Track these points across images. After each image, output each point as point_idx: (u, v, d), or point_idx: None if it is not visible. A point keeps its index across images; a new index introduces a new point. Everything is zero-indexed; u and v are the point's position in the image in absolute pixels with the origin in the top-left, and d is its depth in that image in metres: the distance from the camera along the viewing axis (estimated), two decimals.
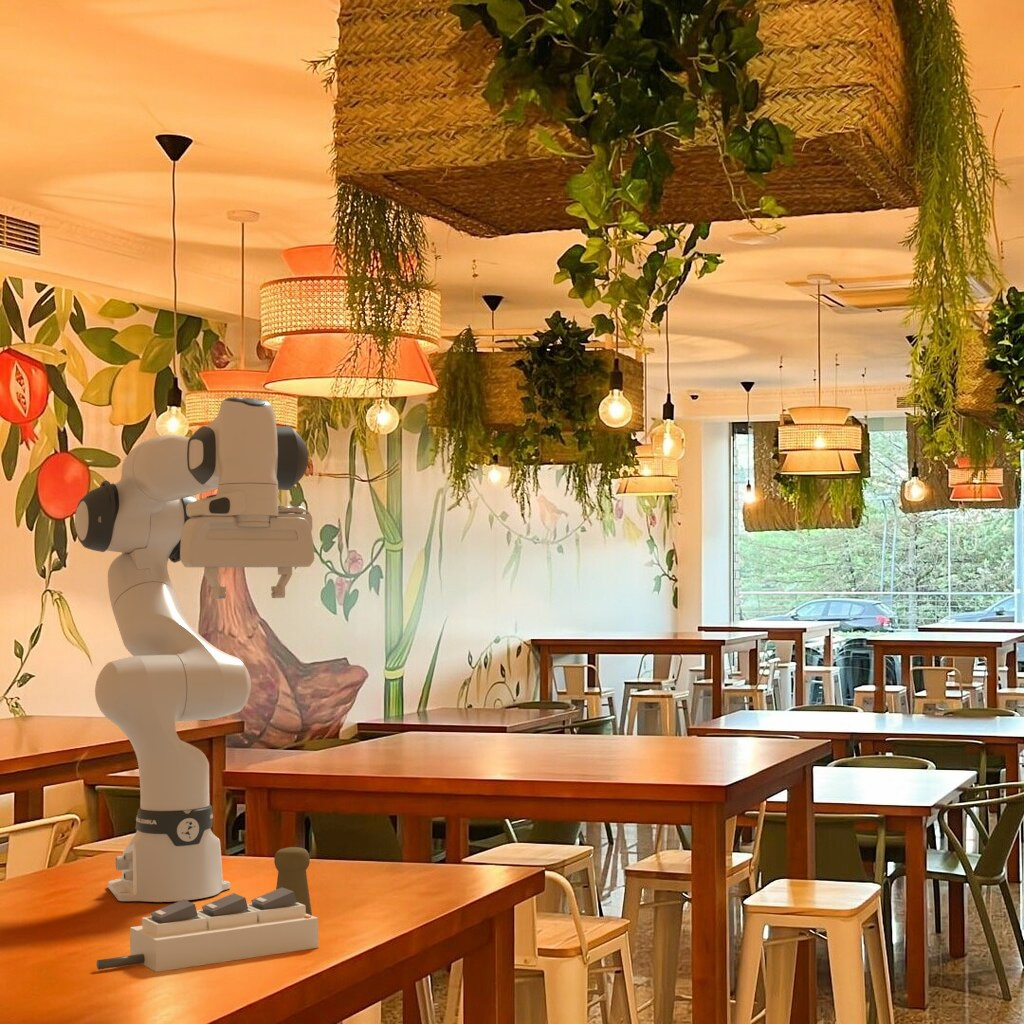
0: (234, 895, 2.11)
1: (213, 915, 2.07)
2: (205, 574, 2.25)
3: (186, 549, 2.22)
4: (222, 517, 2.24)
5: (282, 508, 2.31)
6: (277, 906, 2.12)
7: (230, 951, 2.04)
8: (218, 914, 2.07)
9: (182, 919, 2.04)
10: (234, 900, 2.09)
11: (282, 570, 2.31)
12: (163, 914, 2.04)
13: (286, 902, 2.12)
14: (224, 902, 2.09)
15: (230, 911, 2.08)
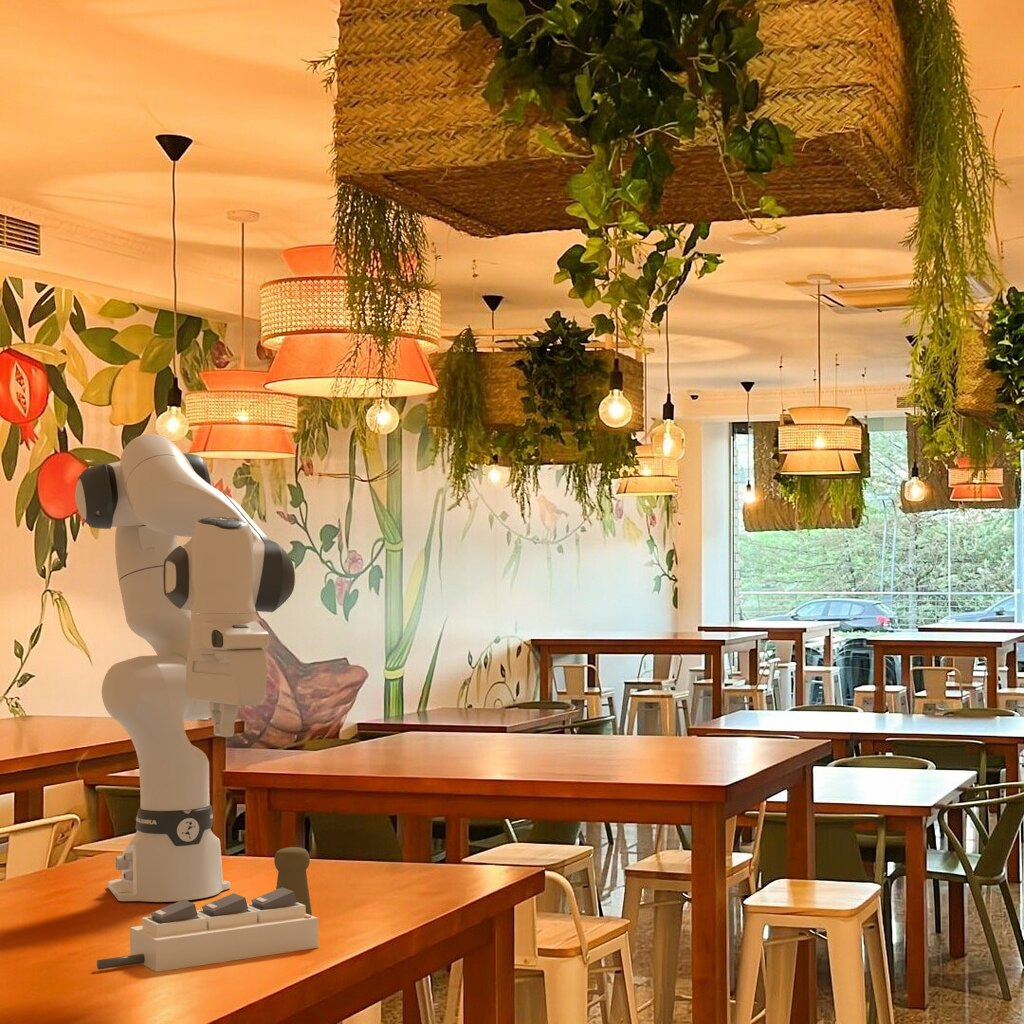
0: (234, 895, 2.11)
1: (213, 915, 2.07)
2: (226, 711, 2.09)
3: (257, 686, 2.03)
4: None
5: None
6: (277, 906, 2.12)
7: (230, 951, 2.04)
8: (218, 914, 2.07)
9: (182, 919, 2.04)
10: (234, 900, 2.09)
11: None
12: (163, 914, 2.04)
13: (286, 902, 2.12)
14: (224, 902, 2.09)
15: (230, 911, 2.08)
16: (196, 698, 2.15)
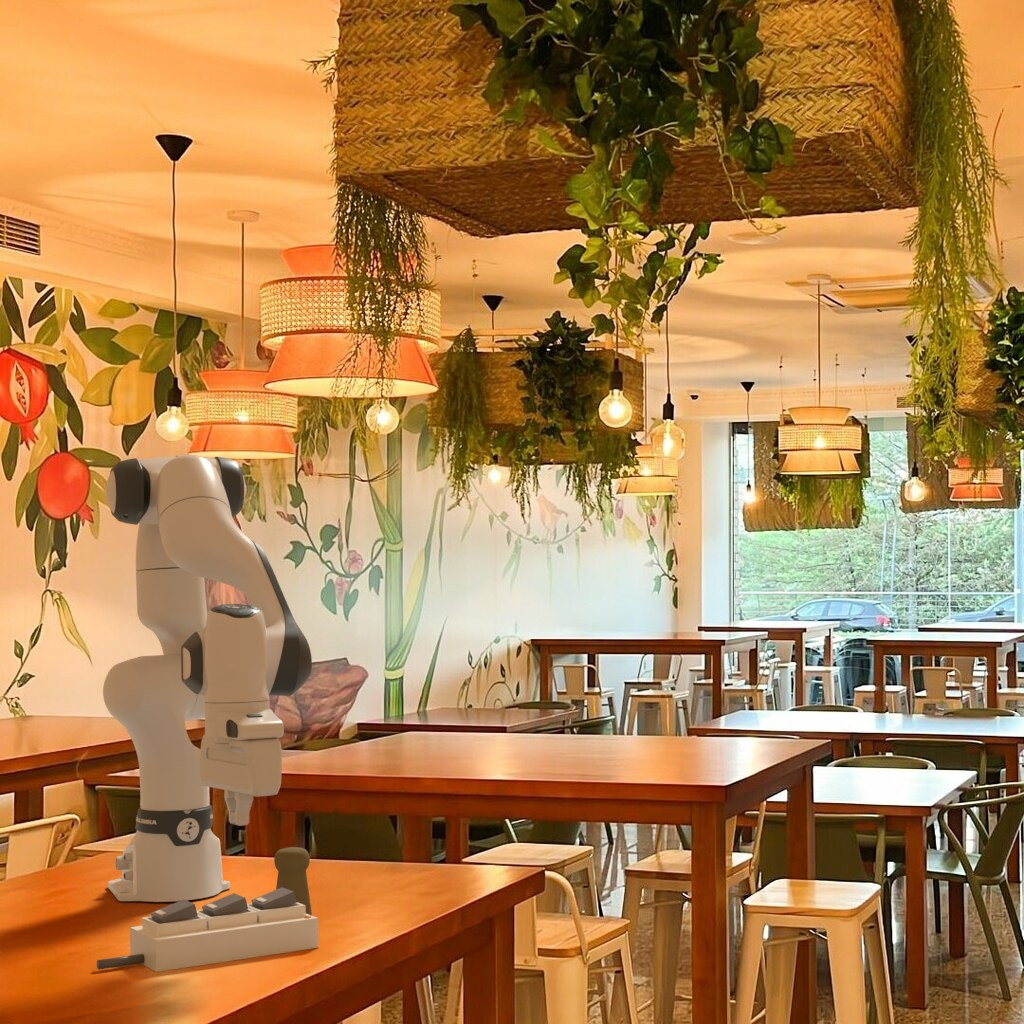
0: (234, 895, 2.11)
1: (213, 915, 2.07)
2: (241, 799, 2.09)
3: (273, 776, 2.04)
4: None
5: None
6: (277, 906, 2.12)
7: (230, 951, 2.04)
8: (218, 914, 2.07)
9: (182, 919, 2.04)
10: (234, 900, 2.09)
11: None
12: (163, 914, 2.04)
13: (286, 902, 2.12)
14: (224, 902, 2.09)
15: (230, 911, 2.08)
16: (210, 785, 2.15)
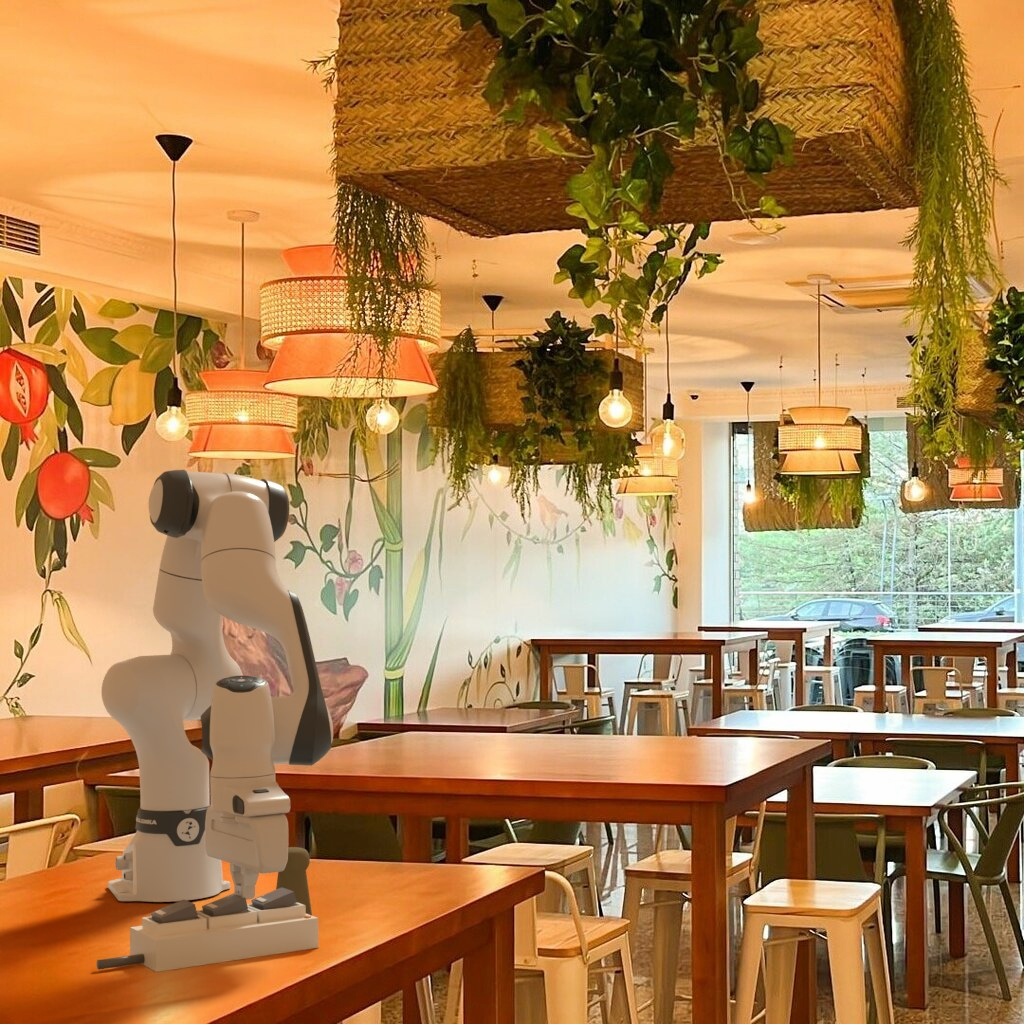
0: (234, 895, 2.11)
1: (213, 915, 2.07)
2: (247, 874, 2.09)
3: (279, 853, 2.03)
4: None
5: None
6: (277, 906, 2.12)
7: (230, 951, 2.04)
8: (218, 914, 2.07)
9: (182, 919, 2.04)
10: (234, 900, 2.09)
11: None
12: (163, 914, 2.04)
13: (286, 902, 2.12)
14: (224, 902, 2.09)
15: (230, 911, 2.08)
16: (216, 857, 2.15)
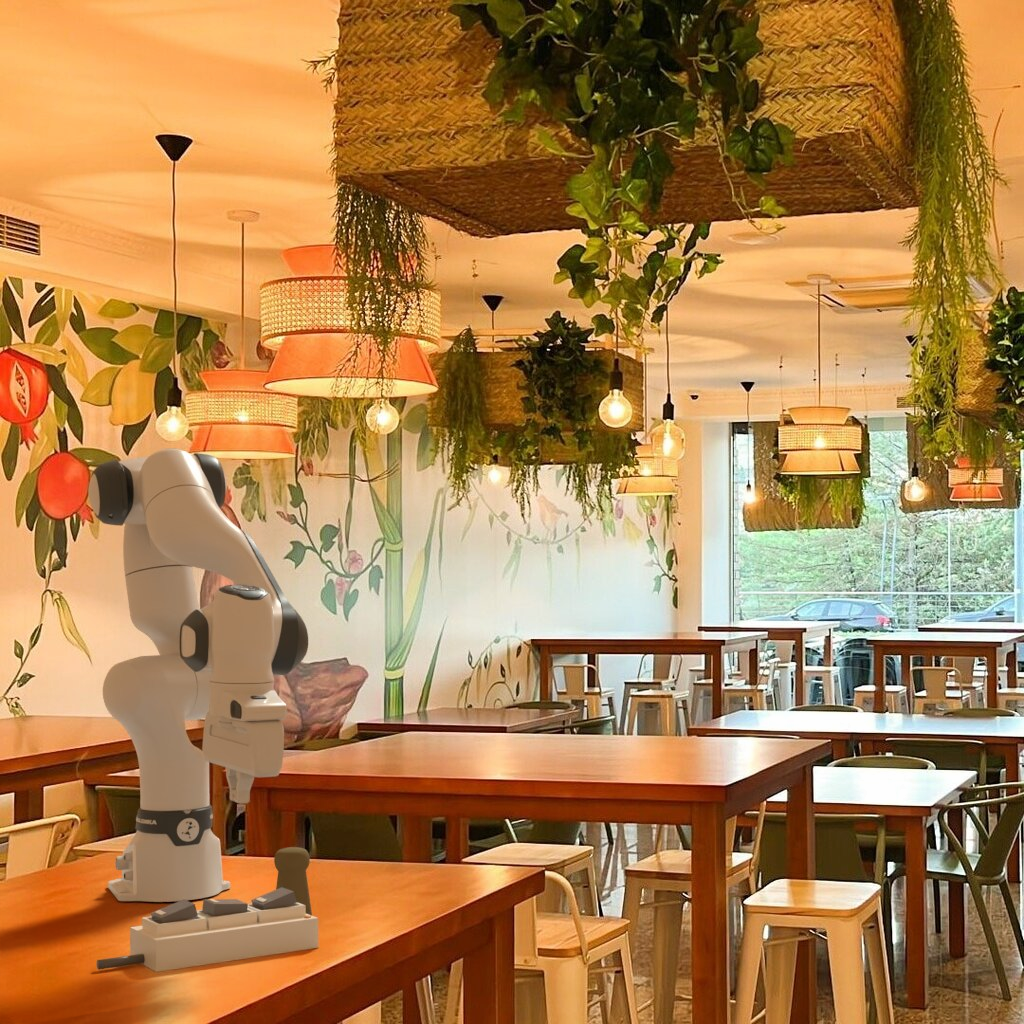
0: (236, 900, 2.11)
1: (213, 908, 2.07)
2: (243, 778, 2.12)
3: (274, 758, 2.07)
4: None
5: None
6: (277, 906, 2.12)
7: (230, 951, 2.04)
8: (218, 909, 2.07)
9: (182, 919, 2.04)
10: (236, 903, 2.09)
11: None
12: (163, 914, 2.04)
13: (286, 902, 2.12)
14: (226, 902, 2.09)
15: (230, 911, 2.08)
16: (213, 761, 2.18)
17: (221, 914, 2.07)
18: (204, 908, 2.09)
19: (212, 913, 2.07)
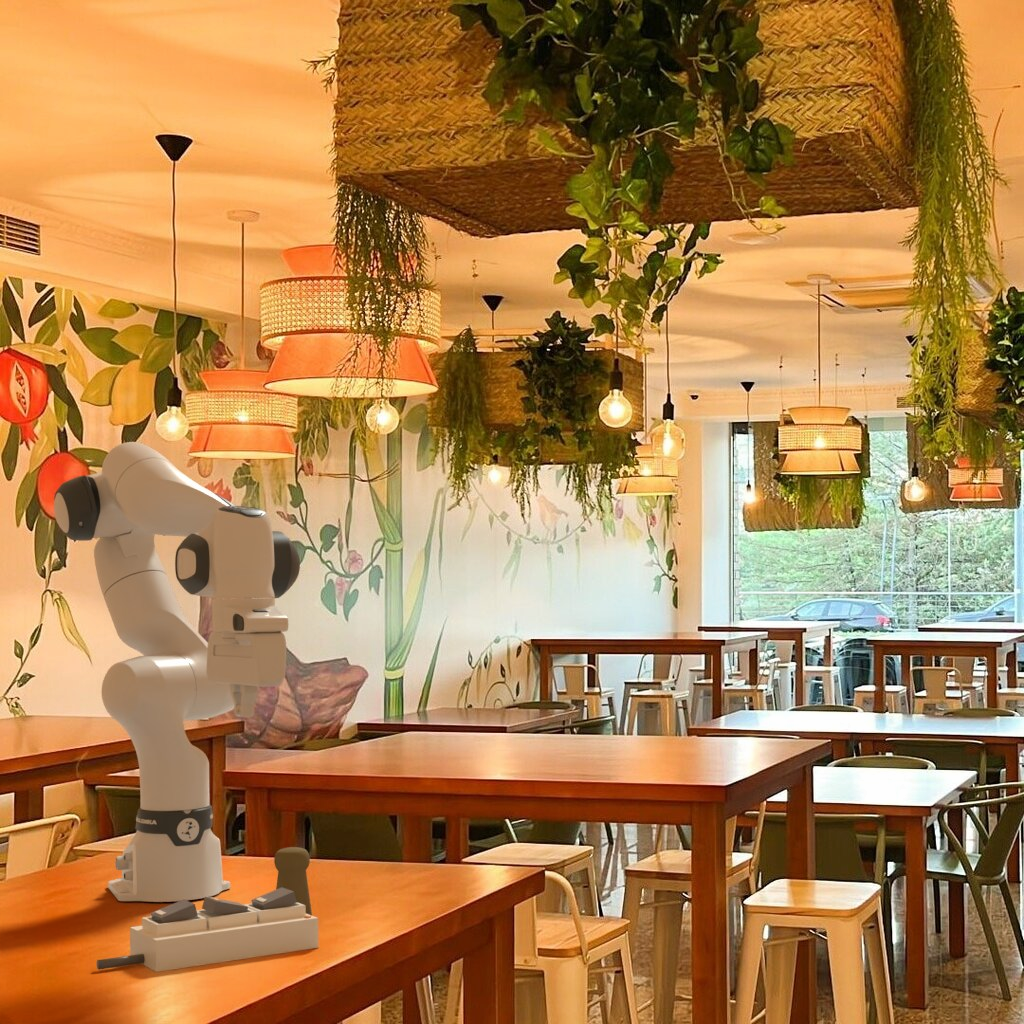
0: (237, 903, 2.11)
1: (213, 905, 2.07)
2: (247, 692, 2.17)
3: (277, 667, 2.11)
4: None
5: None
6: (277, 906, 2.12)
7: (230, 951, 2.04)
8: (218, 907, 2.07)
9: (182, 919, 2.04)
10: (237, 904, 2.09)
11: None
12: (163, 914, 2.04)
13: (286, 902, 2.12)
14: (227, 902, 2.09)
15: (229, 911, 2.08)
16: (217, 680, 2.23)
17: (221, 912, 2.07)
18: (204, 905, 2.09)
19: (212, 910, 2.07)
